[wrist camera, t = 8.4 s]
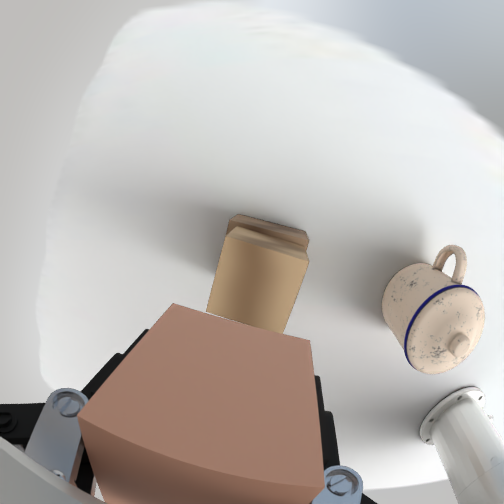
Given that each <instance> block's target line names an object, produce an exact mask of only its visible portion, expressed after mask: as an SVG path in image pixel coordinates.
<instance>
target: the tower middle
mask: <svg viewBox="0 0 504 504" xmlns="http://www.w3.org/2000/svg"><path fill="white" fill-rule="evenodd" d="M308 264H309V259H308V256H307V253H306V250H305V247H304V246H301V245H298V244H295V243H292V242H288V241H285V240H282V239H279V238H276V237H272V236H269V235H266V234H263V233H259V232H256V231H253V230H250V229H246V228H243V227H240V226H236V227H235V228H234V229H233V230H232V231H231V232H230V233H228V234H227V235H226V236H225V240H224V244H223V248H222V251H221V255H220V259H219V263H218V266H217V270H216V274H215V278H214V282H213V285H212V289H211V293H210V297H209V301H208V305H207V309H206V312H209V313H212V314H215V315H218V316H221V317H224V318H227V319H230V320H234V321H237V322H240V323H243V324H246V325H250V326H253V327H257V328H261V329H265V330H268V331H272V332H276V333H281V334H283V331H284V329H285V326H286V324H287V321H288V319H289V316H290V313H291V311H292V308H293V305H294V303H295V300H296V297H297V295H298V292H299V289H300V286H301V284H302V281H303V278H304V275H305V272H306V270H307V267H308Z"/></svg>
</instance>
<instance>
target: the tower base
mask: <svg viewBox="0 0 504 504" xmlns="http://www.w3.org/2000/svg"><path fill="white" fill-rule="evenodd" d="M236 226H240V227H243V228H246V229H250V230H253V231H256V232H259V233H263V234H266V235H269V236H272V237H276V238H279V239H282V240H285V241H288V242H292V243H295V244H298V245H301V246H304V247H305V250H307V247H308V243H309V239H308V236H307V234H306V232H305V231H302V230H298V229H294V228H291V227H287V226H283V225H279V224H275V223H271V222H268V221H264V220H260V219H256V218H252V217H248V216H244V215H240V214H237V215H236V216H234V217H233V218H231V219H230V220H229V224H228V228H227V233H226V235H227V234H228V233H230V232H231V231H232V230H233V229H234V228H235V227H236Z"/></svg>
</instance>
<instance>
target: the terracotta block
mask: <svg viewBox="0 0 504 504" xmlns="http://www.w3.org/2000/svg"><path fill="white" fill-rule="evenodd" d="M77 418H78V423H79V426H80V430H81V434H82V438H83V441H84V445H85V448H86V451H87V454H88V458H89V461H90V464H91V467H92V470H93V472H94V475H95V478H96V481H97V483H98V486H99V489H100V491H101V493H102V496H103V498H104V501H105V503H107V504H309V503H310V502H311V501H312V500H313V499H314V498H315V497H316V496H317V495H318V494H319V493H320V492H321V491H322V490H323V489H324V488H325V482H324V468H323V455H322V444H321V433H320V423H319V413H318V403H317V394H316V386H315V377H314V369H313V361H312V353H311V346H310V340H306V339H302V338H297V337H293V336H289V335H285V334H281V333H276V332H272V331H268V330H265V329H261V328H257V327H253V326H249V325H245V324H242V323H238V322H234V321H231V320H227V319H224V318H220V317H217V316H213V315H210V314H207V313H203V312H200V311H196V310H193V309H190V308H187V307H183V306H180V305H177V304H174V303H173V304H172V305H171V306H170V307H169V308H168V309H167V310H166V312H165V313H164V314H163V315H162V316H161V317H160V318H159V319H158V321H157V322H156V323H155V324H154V325H153V326H152V327H151V329H150V330H149V331H148V332H147V333H146V334H145V335H144V337H143V338H142V339H141V340H140V341H139V342H138V343H137V345H136V346H135V347H134V348H133V349H132V350H131V352H130V353H129V354H128V355H127V356H126V357H125V359H124V360H123V361H122V362H121V363H120V364H119V366H118V367H117V368H116V369H115V370H114V371H113V373H112V374H111V375H110V376H109V377H108V378H107V380H106V381H105V382H104V383H103V384H102V386H101V387H100V388H99V389H98V390H97V392H96V393H95V394H94V395H93V396H92V397H91V399H90V400H89V401H88V402H87V404H86V405H85V406H84V407H83V408H82V410H81V411H80V412H79V413H78V414H77Z"/></svg>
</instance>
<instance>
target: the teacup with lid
mask: <svg viewBox="0 0 504 504" xmlns="http://www.w3.org/2000/svg"><path fill="white" fill-rule="evenodd" d="M452 254H455V257H456V266H455V270H454V273H453V276H452V278H451V277H449V276H448V275H446V274H444V273H443V272H442V269H443V266H444V264H445V262H446V260H447V258H448V257H449V256H450V255H452ZM466 267H467V258H466V254H465V252H464V250H463V249H462V248H461V247H459V246H456V245H448V246H446V247H444V248H443V249H442V250H441V251H440V252H439V253H438V255H437V257H436V259H435V261H434V264H433V266H431V265H429V264H425V263H417V264H412V265H409V266H407V267H405V268H403V269H402V270H400V271H399V272H398V273H397V274H396V275H395V276H394V277H393V278H392V279H391V280H390V282H389V283H388V285H387V287H386V289H385V292H384V295H383V299H382V313H383V317H384V319H385V321H386V323H387V324H388V326H389V327H390V329H391V331H392V332H393V334H394V335H395V337H396V338H397V340H398V341H399V343H400V345H401V346H402V348H403V349H404V352H405V356H406V358H407V360H408V362H409V364H410V365H411V366H412V367H413V368H415V369H416V370H418V371H420V372H422V373H426V374H439V373H443V372H446V371H448V370H450V369H452V368H454V367H456V366H457V365H459V364H460V363H461V362H462V361H463V360H465V359H466V358H467V357H468V355H469V354H470V353H471V352H472V351H473V349H474V348H475V346H476V344H477V343H478V341H479V339H480V336H481V334H482V331H483V327H484V320H485V313H484V307H483V303H482V301H481V299H480V297H479V295H478V294H477V293H476V292H475V291H474V290H473V289H472V288H470V287H468V286H465V285H461V284H462V281H463V278H464V275H465V272H466Z"/></svg>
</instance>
